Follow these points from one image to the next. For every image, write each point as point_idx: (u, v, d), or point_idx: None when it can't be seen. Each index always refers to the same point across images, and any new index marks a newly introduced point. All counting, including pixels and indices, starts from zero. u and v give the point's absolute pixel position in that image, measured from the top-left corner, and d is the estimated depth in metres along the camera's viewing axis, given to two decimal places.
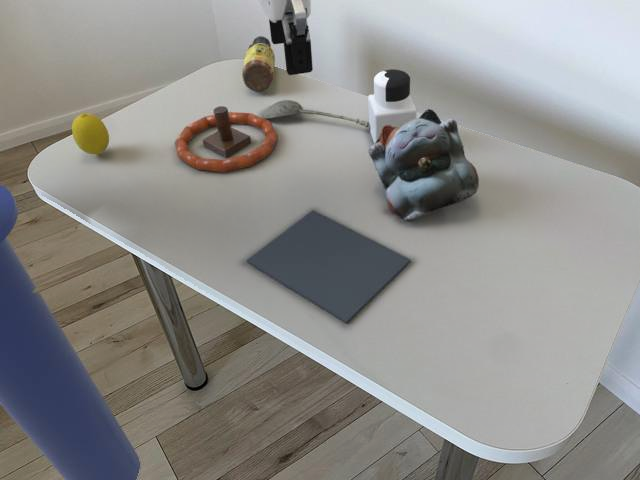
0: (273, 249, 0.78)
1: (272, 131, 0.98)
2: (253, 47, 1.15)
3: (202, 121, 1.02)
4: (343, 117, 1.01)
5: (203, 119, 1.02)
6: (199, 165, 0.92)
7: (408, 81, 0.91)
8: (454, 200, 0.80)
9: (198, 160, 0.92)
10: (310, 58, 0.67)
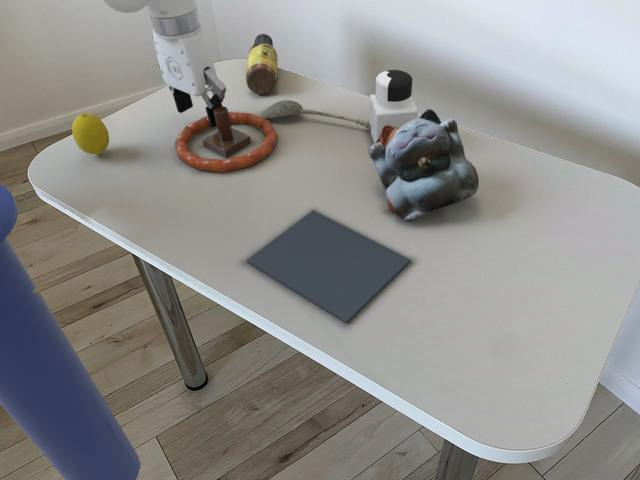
0: (273, 249, 0.78)
1: (272, 131, 0.98)
2: (259, 47, 1.14)
3: (202, 121, 1.02)
4: (343, 117, 1.01)
5: (203, 119, 1.02)
6: (199, 165, 0.92)
7: (410, 81, 0.91)
8: (454, 200, 0.80)
9: (198, 160, 0.92)
10: None
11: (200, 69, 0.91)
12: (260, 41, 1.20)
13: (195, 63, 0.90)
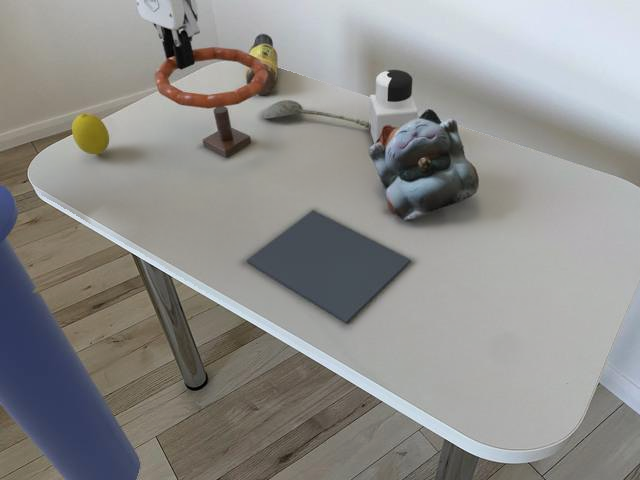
0: (273, 249, 0.78)
1: (263, 69, 0.90)
2: (259, 47, 1.14)
3: None
4: (343, 117, 1.01)
5: None
6: (180, 99, 0.84)
7: (410, 82, 0.91)
8: (454, 200, 0.80)
9: (180, 94, 0.84)
10: (192, 53, 0.92)
11: None
12: (260, 41, 1.20)
13: None
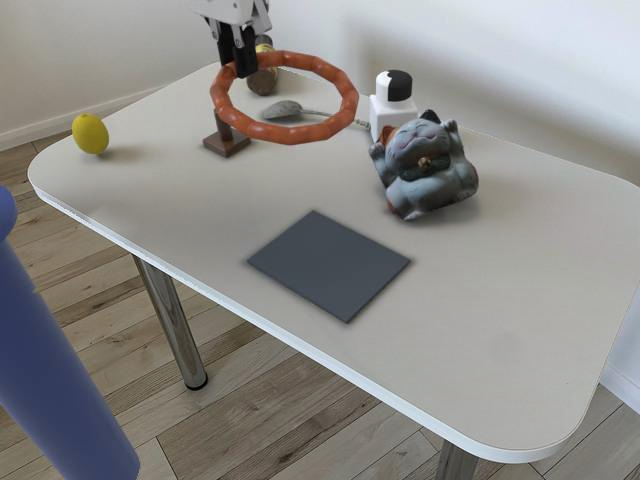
0: (273, 249, 0.78)
1: (354, 89, 0.68)
2: (259, 47, 1.14)
3: None
4: None
5: None
6: (252, 132, 0.62)
7: (410, 81, 0.91)
8: (454, 200, 0.80)
9: (251, 124, 0.61)
10: (255, 57, 0.69)
11: None
12: (260, 41, 1.20)
13: None
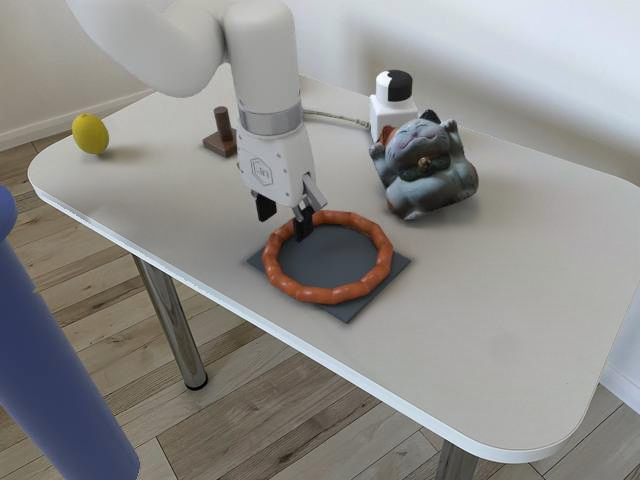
0: None
1: (387, 242, 0.76)
2: None
3: (292, 225, 0.79)
4: (343, 117, 1.01)
5: None
6: (300, 297, 0.70)
7: (411, 82, 0.91)
8: (454, 200, 0.80)
9: (299, 290, 0.70)
10: (311, 222, 0.77)
11: (299, 176, 0.68)
12: None
13: (294, 169, 0.67)
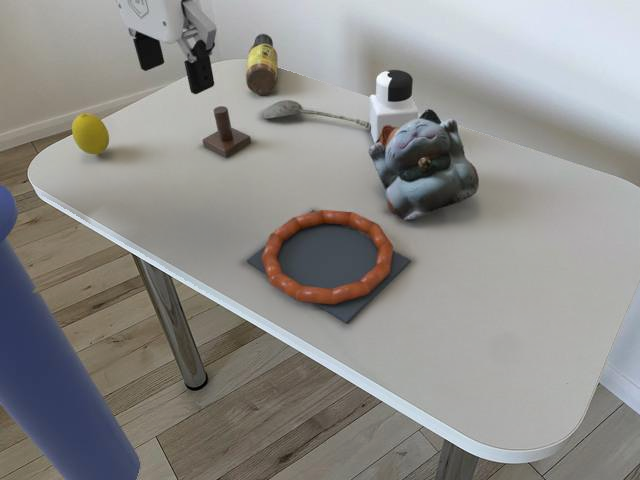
0: None
1: (387, 242, 0.76)
2: (259, 47, 1.14)
3: (292, 225, 0.79)
4: (343, 117, 1.01)
5: (293, 222, 0.80)
6: (300, 297, 0.70)
7: (411, 82, 0.91)
8: (454, 200, 0.80)
9: (299, 290, 0.70)
10: (210, 72, 0.66)
11: None
12: (260, 41, 1.20)
13: None
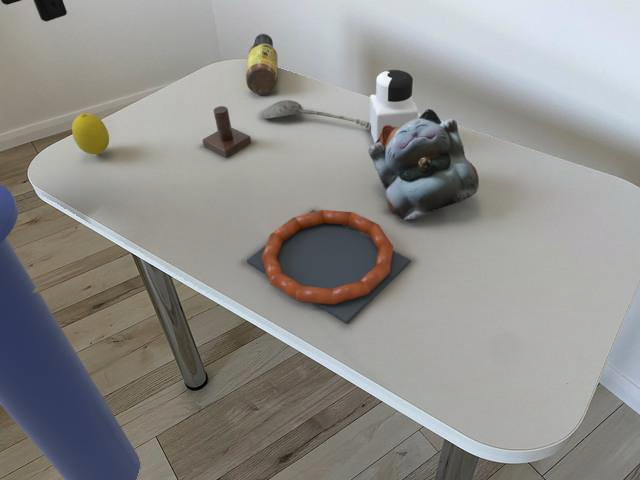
0: None
1: (387, 242, 0.76)
2: (259, 47, 1.14)
3: (292, 225, 0.79)
4: (343, 117, 1.01)
5: (293, 222, 0.80)
6: (300, 297, 0.70)
7: (411, 82, 0.91)
8: (454, 200, 0.80)
9: (299, 290, 0.70)
10: None
11: None
12: (260, 41, 1.20)
13: None
